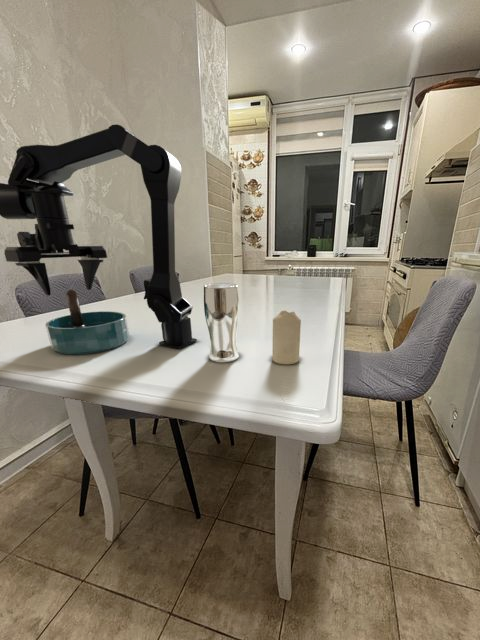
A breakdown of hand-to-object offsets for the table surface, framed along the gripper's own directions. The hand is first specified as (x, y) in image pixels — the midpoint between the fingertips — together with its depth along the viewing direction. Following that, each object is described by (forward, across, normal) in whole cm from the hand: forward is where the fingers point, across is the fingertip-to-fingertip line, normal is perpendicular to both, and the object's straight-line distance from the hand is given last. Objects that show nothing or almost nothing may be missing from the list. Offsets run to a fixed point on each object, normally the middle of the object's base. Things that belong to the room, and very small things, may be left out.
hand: (69, 292), depth 68 cm
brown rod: (+11, 0, 0) cm, 11 cm away
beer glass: (+12, -8, +38) cm, 40 cm away
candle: (+12, -13, +50) cm, 53 cm away
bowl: (+12, 0, +4) cm, 13 cm away
